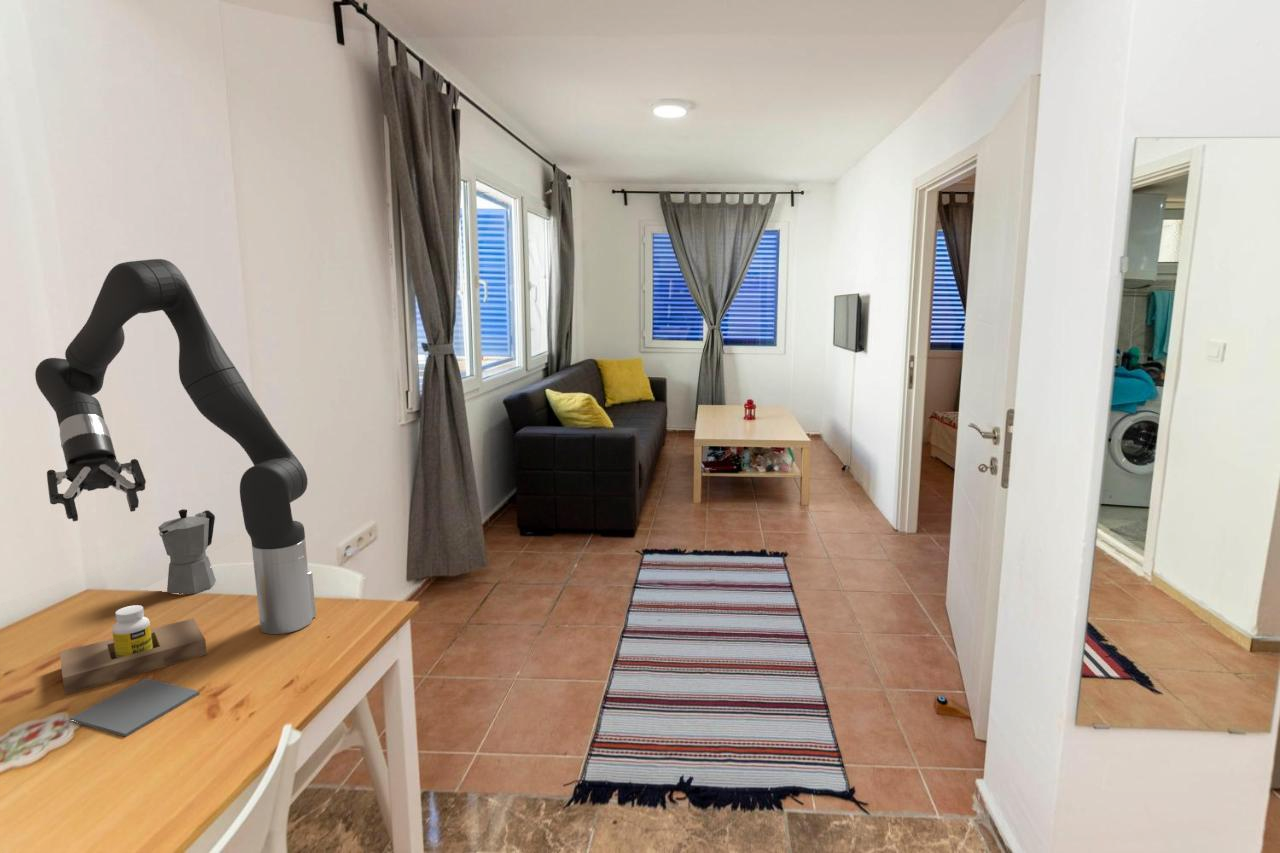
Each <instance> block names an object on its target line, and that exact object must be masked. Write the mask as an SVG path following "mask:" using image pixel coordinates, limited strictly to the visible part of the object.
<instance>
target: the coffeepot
mask: <svg viewBox="0 0 1280 853" xmlns="http://www.w3.org/2000/svg"><path fill="white" fill-rule="evenodd" d="M178 514H179V517H178V518H174V519H171V520H167V521H164V522H163V523H161V524H159V526H158V531H159V534H158V535H159V536H160V537H161V540H162V543H163V546H164V548H165V552H166V555H167V556H169V560H170V561H169V564H168V573H167V587H166V588H167V589H166V592H167V593H169V594H170V593H179V594H182V593H183V594H188V593H189V594H190V595H195V594H199V593H202V592H205V591H207V590H209V589H211V588H213V587H214V585H215V583H216V581H217V580H216V577H215V573H214V571H213V570H214V569H213V568H210V566H211V567H212V565H211V560H210V558H209V556H208V555H207V552H206V550H207V548H208V547H209V546H210V545H212V542H213V535H214V526H215V522H216V519H215V518H216V517H215V514H214V513H213V512H212V511H210V510H207V509H206V510H204V511H201V512H199V513H196V514H195V515H194V516H188V509H183V508H182V509H179V510H178Z"/></svg>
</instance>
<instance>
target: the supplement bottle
mask: <svg viewBox="0 0 1280 853" xmlns="http://www.w3.org/2000/svg"><path fill="white" fill-rule="evenodd" d="M114 613H115V621H116V622H115V624H114V625H113V626H112V630H111V631H112V639H113V640H114V648H115V655H116V658H120V657H124V656H127V655H131V654H135V653H138V652H142V651H146V650H150V649H153V645H152V636H151V629H152V628H151V622H150V619H149V618H148V617H146V616H144V615H145V611H144V607H143V606H142V605H140V604H139V605H138V604H136V605H135V604H133V605H129V606H124V607H122V608H119V609H118V610H116V611H115V612H114ZM116 658H115V659H116Z"/></svg>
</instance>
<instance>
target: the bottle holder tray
mask: <svg viewBox="0 0 1280 853" xmlns="http://www.w3.org/2000/svg"><path fill="white" fill-rule="evenodd" d="M151 636H152V645H153V649H150V650H146V651H142V652H138V653H135V654H131V655H127V656H124V657H120V658H116V655H115V648H114V640H113V638H110V639H106V640H102V641H98V642H95V643H94V642H93V643H89V644H87V645H81V646H79V647H75V648H71V649H67V650H62V651H59V658H60V659H59V660H60V666H61V675H62V681H63V688H64V692H65V693H64V694H65V696H67V695H71V694H73V693H77V692H80V691H84V690H87V689H92V688H94V687H95V688H96V687H99V686H101V685H104V684H108V683H112V682H115V681H119V680H122V679H126V678H130V677H133V676H137V675H140V674H143V673H146V672H151V671H153V670H157V669H160V668H165V667H168V666H170V665H171V666H172V665H175V664H178V663H181V662H182V663H183V662H185V661H189V660H192V659H196V658H199V657H202V656H206V655H207V654H208V652H207V651H208V650H207V646H206V645H207V644H206V638H205V635H203V633H202V631H201V629H200V627H199V625H198V623H197V622H196V620H195V618H194V617H192V618H188V619H185V620H182V621H177V622H173V623H169V624H165V625H161V626H157V627H154V628H151Z"/></svg>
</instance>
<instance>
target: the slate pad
mask: <svg viewBox="0 0 1280 853" xmlns="http://www.w3.org/2000/svg"><path fill="white" fill-rule="evenodd" d="M200 694H201V693H200V690H196V689H193V688H188V687H186V686H185V687H184V686H180V685H176V684H172V683H167V682H165V681H160V680H156V679H151V678H147V677H145V678H143V679H142V680H140V681H139V680H138V681H137V682H136V683H134V684H132V685H130V686H128V687H126V688H124V689H123V690H121V691H118V692H116V693H115V694H113V695H111V696H109V697H107V698H105V699H103V700H102V701H99V702H97V703H95V704H93V705H91V706H90V707H87V708H86V709H84V710H82V711H80V712H78V713H76V714H74V715H72V716H70V717H69V721H70V720H74V721H76V722H78V723H77V724H80V725H84V726H85V727H90V728H94V729H97V730H101V731H104V732H108V733H111V734H116V735H118V736H123V737H128V736H130V735H132V734H133V733H135V732H137V731H139V730H140V729H141V728H143V727H146V726H147V725H149V724H150V723H152V722H153V721H156V720H157V719H159V718H161V717H162V716H164V715H165V714H168V713H170V712H171V711H172V710H174V709H177V708H178V707H180V706H181V705H183V704H185V703H186V702H188V701H190V700H192V699H193V698H195V697H196V696H198V695H200ZM76 722H75V723H76Z"/></svg>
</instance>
